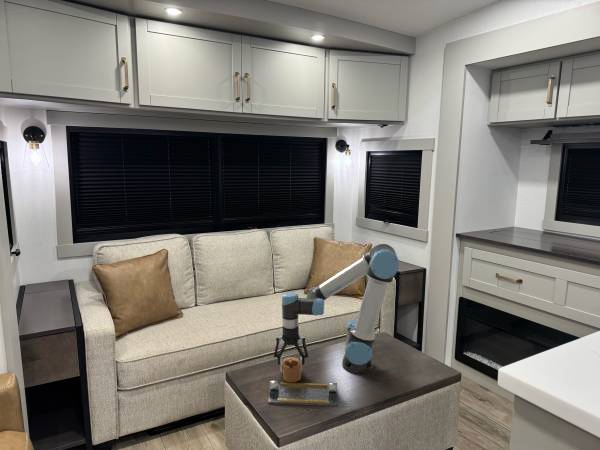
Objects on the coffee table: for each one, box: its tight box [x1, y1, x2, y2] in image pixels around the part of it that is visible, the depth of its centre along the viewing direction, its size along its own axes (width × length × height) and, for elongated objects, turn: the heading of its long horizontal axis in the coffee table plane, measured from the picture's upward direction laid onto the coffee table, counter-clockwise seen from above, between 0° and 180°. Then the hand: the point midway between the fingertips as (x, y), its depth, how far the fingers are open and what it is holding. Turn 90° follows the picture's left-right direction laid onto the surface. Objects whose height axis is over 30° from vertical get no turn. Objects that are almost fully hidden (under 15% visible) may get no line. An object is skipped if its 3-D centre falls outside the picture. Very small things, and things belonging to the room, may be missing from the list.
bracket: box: [282, 356, 302, 383], centre depth 192 cm, size 18×8×7 cm, turn 5°
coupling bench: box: [267, 380, 338, 407], centre depth 176 cm, size 29×13×6 cm, turn 87°
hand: (291, 370), depth 194 cm, fingers closed on bracket, 9 cm apart
